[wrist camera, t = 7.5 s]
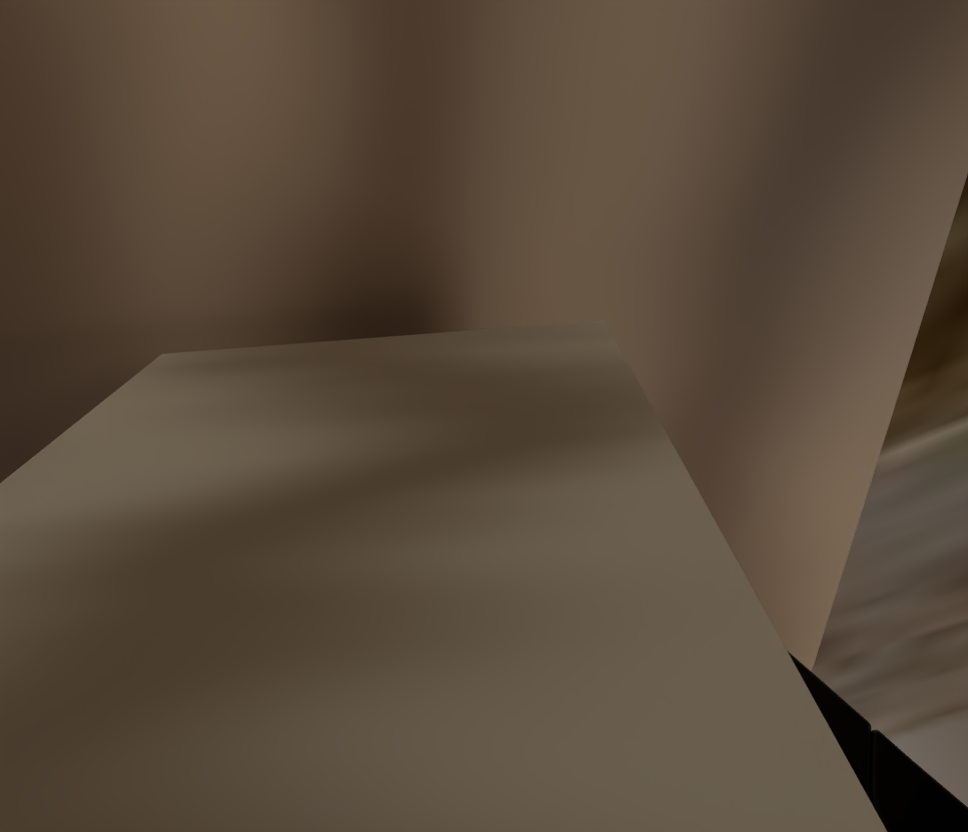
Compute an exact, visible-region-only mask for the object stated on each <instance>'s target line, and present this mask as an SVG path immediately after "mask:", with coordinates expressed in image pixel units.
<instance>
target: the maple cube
mask: <svg viewBox="0 0 968 832" xmlns="http://www.w3.org/2000/svg"><path fill="white" fill-rule="evenodd" d="M0 832H887V830H886V829H885V827H884V825H883V823H882V821H881V820H880V818H879V816H878V814H877V812H876V811H875V809H874V807H873V805H872V803H871V802H870V800H869V798H868V796H867V794H866V792H865V791H864V789H863V787H862V785H861V783H860V782H859V780H858V778H857V776H856V774H855V773H854V771H853V769H852V767H851V765H850V764H849V762H848V760H847V758H846V756H845V755H844V753H843V751H842V749H841V747H840V746H839V744H838V742H837V740H836V738H835V737H834V735H833V733H832V731H831V729H830V727H829V726H828V724H827V722H826V720H825V718H824V717H823V715H822V713H821V711H820V709H819V708H818V706H817V704H816V702H815V700H814V699H813V697H812V695H811V693H810V691H809V690H808V688H807V686H806V684H805V682H804V681H803V679H802V677H801V675H800V673H799V672H798V670H797V668H796V666H795V664H794V662H793V661H792V659H791V657H790V655H789V653H788V652H787V650H786V648H785V646H784V644H783V643H782V641H781V639H780V637H779V635H778V634H777V632H776V630H775V628H774V626H773V625H772V623H771V621H770V619H769V617H768V616H767V614H766V612H765V610H764V608H763V606H762V605H761V603H760V601H759V599H758V597H757V596H756V594H755V592H754V590H753V588H752V587H751V585H750V583H749V581H748V579H747V578H746V576H745V574H744V572H743V570H742V569H741V567H740V565H739V563H738V561H737V560H736V558H735V556H734V554H733V552H732V551H731V549H730V547H729V545H728V543H727V541H726V540H725V538H724V536H723V534H722V532H721V531H720V529H719V527H718V525H717V523H716V522H715V520H714V518H713V516H712V514H711V513H710V511H709V509H708V507H707V505H706V504H705V502H704V500H703V498H702V496H701V495H700V493H699V491H698V489H697V487H696V486H695V484H694V482H693V480H692V478H691V476H690V475H689V473H688V471H687V469H686V467H685V466H684V464H683V462H682V460H681V458H680V457H679V455H678V453H677V451H676V449H675V448H674V446H673V444H672V442H671V440H670V439H669V437H668V435H667V433H666V431H665V430H664V428H663V426H662V424H661V422H660V420H659V419H658V417H657V415H656V413H655V411H654V410H653V408H652V406H651V404H650V402H649V401H648V399H647V397H646V395H645V393H644V392H643V390H642V388H641V386H640V384H639V383H638V381H637V379H636V377H635V375H634V374H633V372H632V370H631V368H630V366H629V365H628V363H627V361H626V359H625V357H624V355H623V354H622V352H621V350H620V348H619V346H618V345H617V343H616V341H615V339H614V337H613V336H612V334H611V332H610V330H609V328H608V327H607V325H606V323H605V321H604V320H602V321H589V322H576V323H563V324H549V325H536V326H523V327H510V328H497V329H483V330H470V331H457V332H444V333H431V334H418V335H404V336H391V337H378V338H365V339H352V340H338V341H325V342H312V343H299V344H286V345H272V346H259V347H246V348H233V349H220V350H206V351H193V352H180V353H167V354H161V355H160V356H159V357H158V358H156V359H155V360H154V361H153V362H151V363H150V364H149V365H148V366H146V367H145V368H144V369H143V370H141V371H140V372H139V373H138V374H136V375H135V376H134V377H133V378H131V379H130V380H129V381H128V382H126V383H125V384H124V385H123V386H121V387H120V388H119V389H118V390H116V391H115V392H114V393H113V394H111V395H110V396H109V397H108V398H106V399H105V400H104V401H103V402H101V403H100V404H99V405H98V406H96V407H95V408H94V409H93V410H91V411H90V412H89V413H88V414H86V415H85V416H84V417H83V418H81V419H80V420H79V421H77V422H76V423H75V424H74V425H72V426H71V427H70V428H69V429H67V430H66V431H65V432H64V433H62V434H61V435H60V436H59V437H57V438H56V439H55V440H54V441H52V442H51V443H50V444H49V445H47V446H46V447H45V448H44V449H42V450H41V451H40V452H39V453H37V454H36V455H35V456H34V457H32V458H31V459H30V460H29V461H27V462H26V463H25V464H24V465H22V466H21V467H20V468H19V469H17V470H16V471H15V472H14V473H12V474H11V475H10V476H9V477H7V478H6V479H5V480H4V481H2V482H1V483H0Z"/></svg>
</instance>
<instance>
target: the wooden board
mask: <svg viewBox="0 0 968 832" xmlns="http://www.w3.org/2000/svg"><path fill="white" fill-rule="evenodd" d="M967 174H968V0H0V483H1V482H2V481H4V480H5V479H6V478H7V477H9V476H10V475H11V474H12V473H14V472H15V471H16V470H17V469H19V468H20V467H21V466H22V465H24V464H25V463H26V462H27V461H29V460H30V459H31V458H32V457H34V456H35V455H36V454H37V453H39V452H40V451H41V450H42V449H44V448H45V447H46V446H47V445H49V444H50V443H51V442H52V441H54V440H55V439H56V438H57V437H59V436H60V435H61V434H62V433H64V432H65V431H66V430H67V429H69V428H70V427H71V426H72V425H74V424H75V423H76V422H77V421H79V420H80V419H81V418H83V417H84V416H85V415H86V414H88V413H89V412H90V411H91V410H93V409H94V408H95V407H96V406H98V405H99V404H100V403H101V402H103V401H104V400H105V399H106V398H108V397H109V396H110V395H111V394H113V393H114V392H115V391H116V390H118V389H119V388H120V387H121V386H123V385H124V384H125V383H126V382H128V381H129V380H130V379H131V378H133V377H134V376H135V375H136V374H138V373H139V372H140V371H141V370H143V369H144V368H145V367H146V366H148V365H149V364H150V363H151V362H153V361H154V360H155V359H156V358H158V357H159V356H160V355H161V354H167V353H180V352H193V351H206V350H220V349H233V348H246V347H259V346H272V345H286V344H299V343H312V342H325V341H338V340H352V339H365V338H378V337H391V336H404V335H418V334H431V333H444V332H457V331H470V330H483V329H497V328H510V327H523V326H536V325H549V324H563V323H576V322H589V321H602V320H604V321H605V323H606V325H607V327H608V328H609V330H610V332H611V334H612V336H613V337H614V339H615V341H616V343H617V345H618V346H619V348H620V350H621V352H622V354H623V355H624V357H625V359H626V361H627V363H628V365H629V366H630V368H631V370H632V372H633V374H634V375H635V377H636V379H637V381H638V383H639V384H640V386H641V388H642V390H643V392H644V393H645V395H646V397H647V399H648V401H649V402H650V404H651V406H652V408H653V410H654V411H655V413H656V415H657V417H658V419H659V420H660V422H661V424H662V426H663V428H664V430H665V431H666V433H667V435H668V437H669V439H670V440H671V442H672V444H673V446H674V448H675V449H676V451H677V453H678V455H679V457H680V458H681V460H682V462H683V464H684V466H685V467H686V469H687V471H688V473H689V475H690V476H691V478H692V480H693V482H694V484H695V486H696V487H697V489H698V491H699V493H700V495H701V496H702V498H703V500H704V502H705V504H706V505H707V507H708V509H709V511H710V513H711V514H712V516H713V518H714V520H715V522H716V523H717V525H718V527H719V529H720V531H721V532H722V534H723V536H724V538H725V540H726V541H727V543H728V545H729V547H730V549H731V551H732V552H733V554H734V556H735V558H736V560H737V561H738V563H739V565H740V567H741V569H742V570H743V572H744V574H745V576H746V578H747V579H748V581H749V583H750V585H751V587H752V588H753V590H754V592H755V594H756V596H757V597H758V599H759V601H760V603H761V605H762V606H763V608H764V610H765V612H766V614H767V616H768V617H769V619H770V621H771V623H772V625H773V626H774V628H775V630H776V632H777V634H778V635H779V637H780V639H781V641H782V643H783V644H784V646H785V648H786V650H787V651H788V652H789V653H791V654H792V655H793V656H794V657H795V658H796V659H797V660H799V661H800V662H801V663H802V664H803V665H804V666H805V667H807V668H808V669H809V670H810V671H811V672H812V669H813V665H814V662H815V659H816V656H817V653H818V649H819V646H820V643H821V640H822V637H823V634H824V630H825V627H826V624H827V621H828V618H829V614H830V611H831V608H832V605H833V602H834V598H835V595H836V592H837V589H838V586H839V583H840V579H841V576H842V573H843V570H844V567H845V563H846V560H847V557H848V554H849V551H850V547H851V544H852V541H853V538H854V535H855V532H856V528H857V525H858V522H859V519H860V516H861V512H862V509H863V506H864V503H865V500H866V496H867V493H868V490H869V487H870V484H871V480H872V477H873V474H874V471H875V468H876V465H877V461H878V458H879V455H880V452H881V449H882V445H883V442H884V439H885V436H886V433H887V429H888V426H889V423H890V420H891V417H892V414H893V410H894V407H895V404H896V401H897V398H898V394H899V391H900V388H901V385H902V382H903V378H904V375H905V372H906V369H907V366H908V362H909V359H910V356H911V353H912V350H913V347H914V343H915V340H916V337H917V334H918V331H919V327H920V324H921V321H922V318H923V315H924V311H925V308H926V305H927V302H928V299H929V296H930V292H931V289H932V286H933V283H934V280H935V276H936V273H937V270H938V267H939V264H940V260H941V257H942V254H943V251H944V248H945V244H946V241H947V238H948V235H949V232H950V229H951V225H952V222H953V219H954V216H955V213H956V209H957V206H958V203H959V200H960V197H961V193H962V190H963V187H964V184H965V181H966V178H967Z"/></svg>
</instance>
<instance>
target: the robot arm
mask: <svg viewBox="0 0 968 832" xmlns="http://www.w3.org/2000/svg"><path fill="white" fill-rule="evenodd" d="M787 652H788V651H787ZM788 653H789V652H788ZM789 655H790V657H791V659H792V661H793V662H794V664H795V666H796V668H797V670H798V672H799V673H800V675H801V677H802V679H803V681H804V682H805V684H806V686H807V688H808V690H809V691H810V693H811V695H812V697H813V699H814V700H815V702H816V704H817V706H818V708H819V709H820V711H821V713H822V715H823V717H824V718H825V720H826V722H827V724H828V726H829V727H830V729H831V731H832V733H833V735H834V737H835V738H836V740H837V742H838V744H839V746H840V747H841V749H842V751H843V753H844V755H845V756H846V758H847V760H848V762H849V764H850V765H851V767H852V769H853V771H854V773H855V774H856V776H857V778H858V780H859V782H860V783H861V785H862V787H863V789H864V791H865V792H866V794H867V796H868V798H869V800H870V802H871V803H872V805H873V807H874V809H875V811H876V812H877V814H878V816H879V818H880V820H881V821H882V823H883V825H884V827H885V829H886V830H887V832H968V807H967V806H965V805H964V804H963V803H962V802H961V801H960V800H958V799H957V798H956V797H955V796H954V795H953V794H951V793H950V792H949V791H948V790H947V789H945V788H944V787H943V786H942V785H941V784H940V783H938V782H937V781H936V780H935V779H934V778H932V777H931V776H930V775H929V774H928V773H927V772H925V771H924V770H923V769H922V768H921V767H919V766H918V765H917V764H916V763H915V762H913V761H912V760H911V759H910V758H909V757H908V756H906V754H905V753H903V752H902V751H901V750H900V749H899V748H898V747H897V746H895V745H894V744H893V743H892V742H891V741H890V740H889V739H888V738H886V737H885V736H884V735H883V734H882V733H881V732H879V731H878V730H873V731H871V725H870V723H869V722H868V721H867V720H866V719H864V718H863V717H862V716H861V715H860V714H859V713H858V712H856V711H855V710H854V709H853V708H852V707H851V706H850V705H848V704H847V703H846V702H845V701H844V700H843V699H842V698H841V697H839V696H838V695H837V694H836V693H835V692H834V691H833V690H831V689H830V688H829V687H828V686H827V685H826V684H825V683H824V682H822V681H821V680H820V679H819V678H818V677H817V676H816V675H814V674H813V673H812V672H811V671H810V670H809V669H808V668H807V667H805V666H804V665H803V664H802V663H801V662H800V661H799V660H797V659H796V658H795V657H794V656H793V655H792V654H791V653H789Z"/></svg>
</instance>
